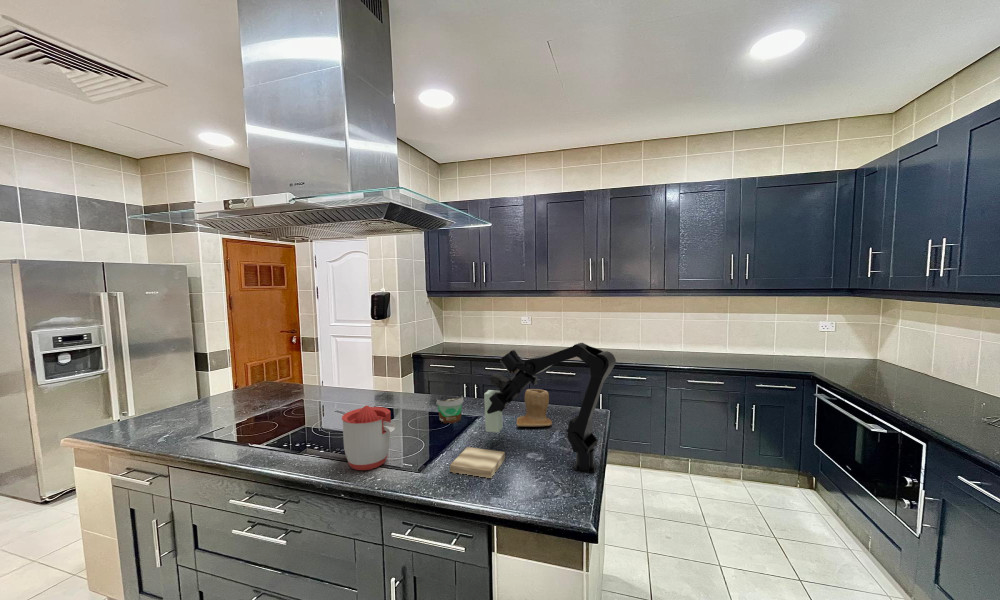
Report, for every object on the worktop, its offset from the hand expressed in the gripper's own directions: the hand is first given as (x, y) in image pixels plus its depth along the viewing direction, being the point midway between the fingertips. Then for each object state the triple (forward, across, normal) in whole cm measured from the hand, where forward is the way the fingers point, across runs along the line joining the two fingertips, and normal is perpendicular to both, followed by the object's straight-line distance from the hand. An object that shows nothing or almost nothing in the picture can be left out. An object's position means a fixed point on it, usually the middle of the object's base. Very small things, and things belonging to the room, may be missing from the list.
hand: (490, 410), depth 142 cm
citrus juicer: (+34, +25, -15) cm, 45 cm away
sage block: (+4, 0, +6) cm, 7 cm away
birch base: (+8, +16, +10) cm, 21 cm away
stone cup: (+3, -25, +17) cm, 30 cm away
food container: (+27, -18, -8) cm, 34 cm away
